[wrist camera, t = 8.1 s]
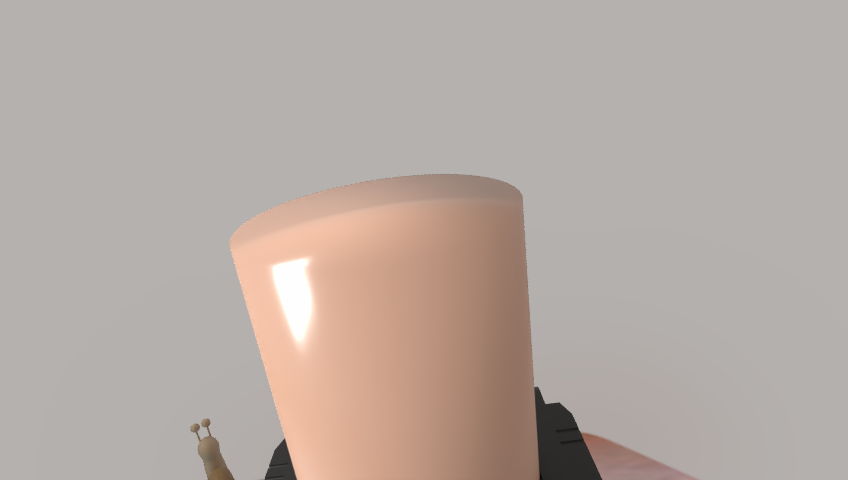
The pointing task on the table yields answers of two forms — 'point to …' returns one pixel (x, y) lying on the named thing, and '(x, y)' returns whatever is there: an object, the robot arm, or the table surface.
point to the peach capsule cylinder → (396, 328)
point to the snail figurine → (211, 455)
